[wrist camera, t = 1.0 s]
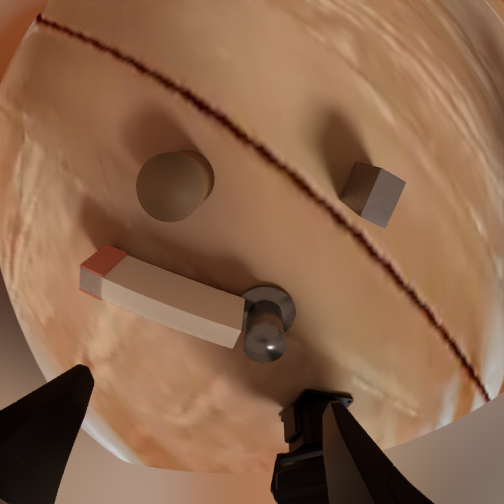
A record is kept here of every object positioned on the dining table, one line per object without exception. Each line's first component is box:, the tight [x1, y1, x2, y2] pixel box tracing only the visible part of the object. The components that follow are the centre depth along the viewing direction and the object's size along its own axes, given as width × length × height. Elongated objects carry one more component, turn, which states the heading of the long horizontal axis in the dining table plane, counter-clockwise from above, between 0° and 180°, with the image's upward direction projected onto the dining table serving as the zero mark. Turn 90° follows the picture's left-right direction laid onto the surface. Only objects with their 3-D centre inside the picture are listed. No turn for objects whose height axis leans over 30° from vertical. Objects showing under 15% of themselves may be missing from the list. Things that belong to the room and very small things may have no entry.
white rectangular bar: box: [80, 244, 245, 349], centre depth 19 cm, size 12×2×4 cm, turn 69°
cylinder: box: [136, 151, 214, 222], centre depth 16 cm, size 4×4×4 cm
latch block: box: [339, 162, 406, 228], centre depth 16 cm, size 2×3×4 cm, turn 159°
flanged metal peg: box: [239, 285, 296, 362], centre depth 20 cm, size 5×5×4 cm
